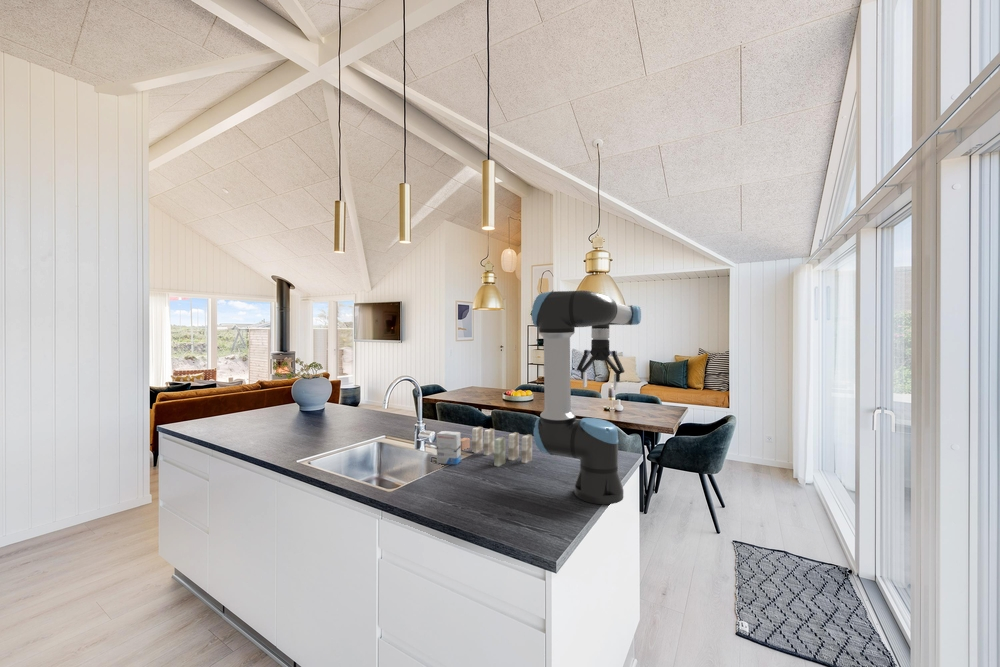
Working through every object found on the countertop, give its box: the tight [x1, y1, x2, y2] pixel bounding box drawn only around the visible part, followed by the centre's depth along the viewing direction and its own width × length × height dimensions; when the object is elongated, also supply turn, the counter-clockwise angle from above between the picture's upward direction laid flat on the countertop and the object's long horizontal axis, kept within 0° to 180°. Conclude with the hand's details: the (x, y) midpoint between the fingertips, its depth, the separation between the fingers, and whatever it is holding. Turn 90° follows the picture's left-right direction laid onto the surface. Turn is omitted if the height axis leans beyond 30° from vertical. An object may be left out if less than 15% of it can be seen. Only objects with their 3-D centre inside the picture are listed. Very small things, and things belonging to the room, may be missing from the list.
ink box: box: [435, 430, 462, 466], centre depth 162 cm, size 9×5×12 cm, turn 73°
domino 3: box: [493, 436, 507, 468], centre depth 160 cm, size 5×2×10 cm, turn 148°
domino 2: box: [483, 427, 495, 456], centre depth 173 cm, size 5×2×10 cm, turn 148°
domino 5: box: [521, 433, 533, 464], centre depth 164 cm, size 5×2×10 cm, turn 148°
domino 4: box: [508, 431, 520, 462], centre depth 167 cm, size 5×2×10 cm, turn 148°
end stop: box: [461, 437, 471, 451], centre depth 181 cm, size 6×3×4 cm, turn 148°
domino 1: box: [471, 426, 484, 454], centre depth 177 cm, size 5×2×10 cm, turn 148°
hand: (599, 388), depth 178 cm, fingers open, 13 cm apart
